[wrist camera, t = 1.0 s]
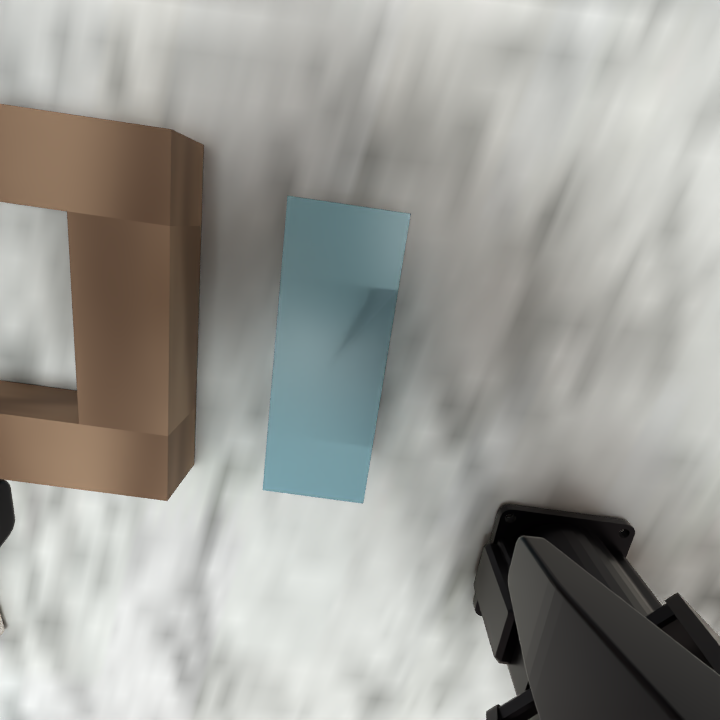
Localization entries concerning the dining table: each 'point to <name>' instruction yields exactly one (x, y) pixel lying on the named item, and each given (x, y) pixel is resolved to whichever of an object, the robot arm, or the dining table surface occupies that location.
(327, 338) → the block
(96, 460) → the brown square frame
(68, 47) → the dining table surface
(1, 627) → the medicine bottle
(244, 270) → the dining table surface
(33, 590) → the dining table surface
